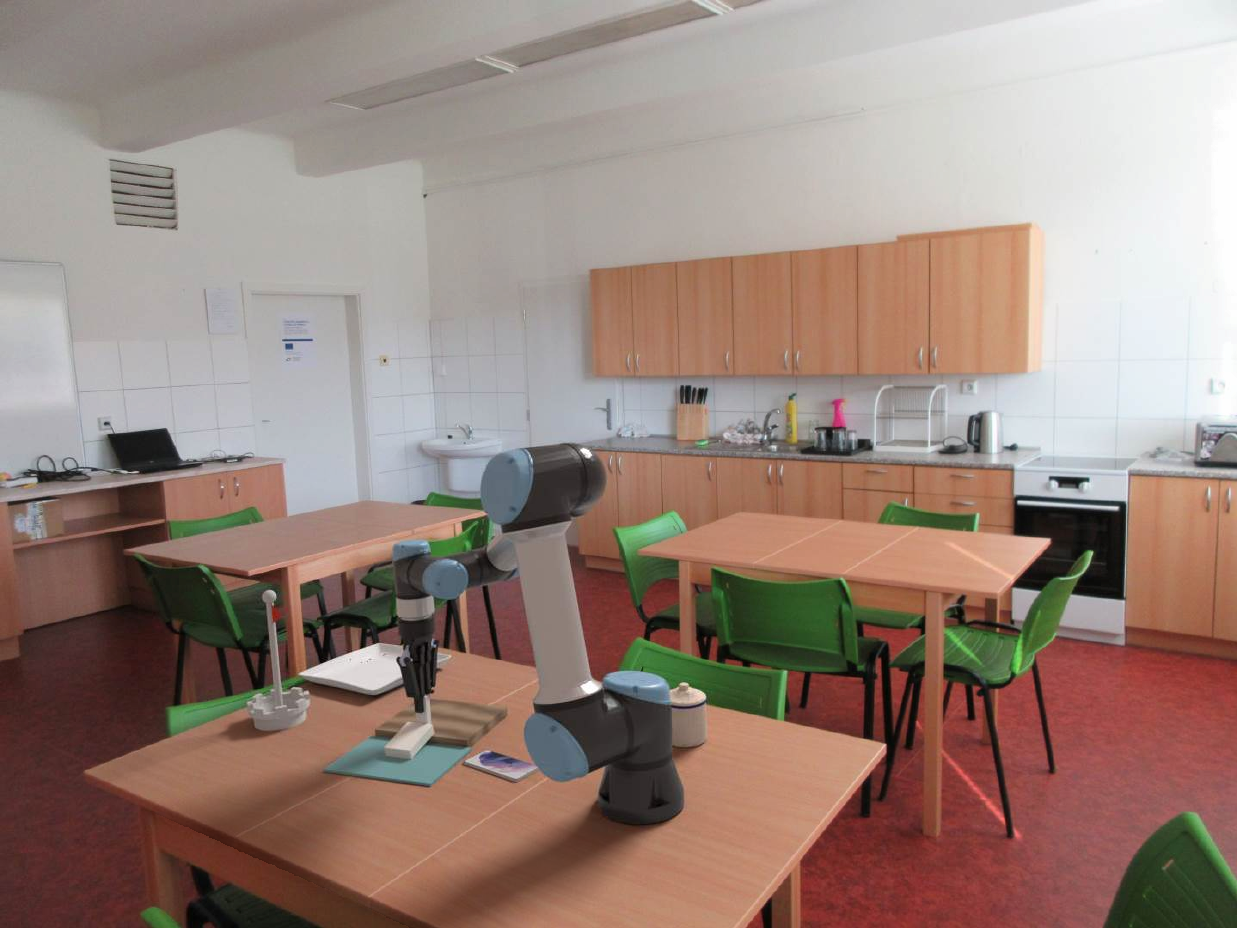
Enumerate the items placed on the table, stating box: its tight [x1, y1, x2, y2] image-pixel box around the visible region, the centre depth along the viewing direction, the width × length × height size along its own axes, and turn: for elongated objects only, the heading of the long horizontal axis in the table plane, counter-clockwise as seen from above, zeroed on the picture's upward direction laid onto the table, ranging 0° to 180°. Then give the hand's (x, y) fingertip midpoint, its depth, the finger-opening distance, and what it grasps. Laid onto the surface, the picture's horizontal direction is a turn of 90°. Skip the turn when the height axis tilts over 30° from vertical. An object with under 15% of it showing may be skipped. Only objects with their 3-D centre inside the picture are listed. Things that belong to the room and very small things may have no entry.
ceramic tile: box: [384, 722, 434, 759], centre depth 187 cm, size 9×6×2 cm, turn 160°
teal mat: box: [322, 735, 473, 787], centre depth 183 cm, size 16×24×1 cm, turn 70°
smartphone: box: [462, 749, 540, 783], centre depth 179 cm, size 7×1×15 cm
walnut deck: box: [374, 698, 509, 748], centre depth 199 cm, size 18×22×2 cm
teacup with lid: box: [670, 682, 708, 748], centre depth 187 cm, size 12×9×12 cm
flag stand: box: [246, 589, 311, 732], centre depth 204 cm, size 13×13×30 cm
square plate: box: [298, 642, 452, 696], centre depth 232 cm, size 27×27×4 cm
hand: (423, 725), depth 191 cm, fingers closed
